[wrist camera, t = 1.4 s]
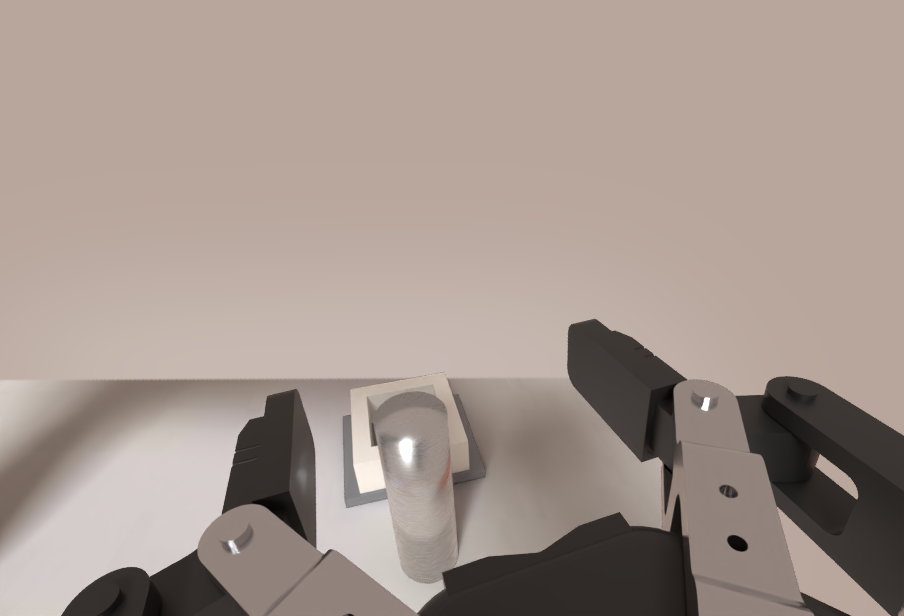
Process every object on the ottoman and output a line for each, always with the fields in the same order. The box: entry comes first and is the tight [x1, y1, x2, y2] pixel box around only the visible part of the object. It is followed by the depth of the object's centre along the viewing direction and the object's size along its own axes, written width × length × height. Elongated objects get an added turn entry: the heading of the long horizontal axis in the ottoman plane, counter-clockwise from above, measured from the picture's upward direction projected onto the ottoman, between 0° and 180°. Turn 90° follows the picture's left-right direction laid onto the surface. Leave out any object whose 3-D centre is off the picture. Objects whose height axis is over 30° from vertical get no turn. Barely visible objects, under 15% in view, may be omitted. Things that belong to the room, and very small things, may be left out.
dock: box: [343, 372, 485, 508], centre depth 42 cm, size 12×10×4 cm
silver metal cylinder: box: [373, 391, 458, 583], centre depth 30 cm, size 4×4×14 cm
